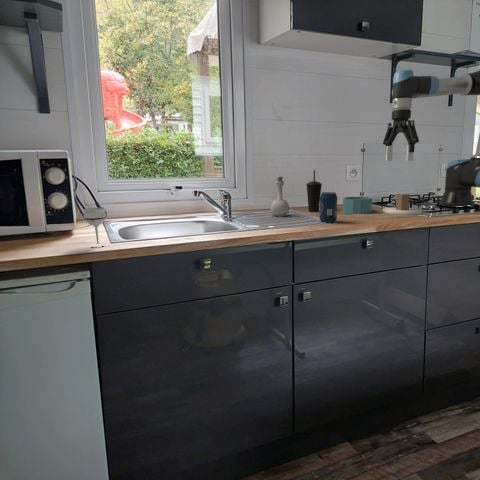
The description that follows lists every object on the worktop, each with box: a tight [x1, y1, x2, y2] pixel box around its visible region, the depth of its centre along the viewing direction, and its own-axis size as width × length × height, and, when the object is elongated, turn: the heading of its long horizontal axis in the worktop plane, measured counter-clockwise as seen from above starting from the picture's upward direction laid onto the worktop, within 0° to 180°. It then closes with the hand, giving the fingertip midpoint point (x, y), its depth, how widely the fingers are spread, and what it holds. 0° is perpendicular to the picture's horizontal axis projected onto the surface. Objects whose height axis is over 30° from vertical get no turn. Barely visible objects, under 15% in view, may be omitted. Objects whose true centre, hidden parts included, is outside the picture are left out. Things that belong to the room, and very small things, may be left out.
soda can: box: [319, 191, 338, 223], centre depth 159 cm, size 7×7×12 cm
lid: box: [381, 193, 424, 216], centre depth 176 cm, size 17×17×8 cm
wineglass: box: [83, 207, 107, 244], centre depth 123 cm, size 7×7×12 cm
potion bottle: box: [270, 176, 290, 217], centre depth 178 cm, size 9×9×18 cm
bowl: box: [342, 196, 373, 216], centre depth 181 cm, size 13×13×7 cm
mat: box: [374, 209, 433, 217], centre depth 177 cm, size 18×18×1 cm
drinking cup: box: [305, 170, 323, 213], centre depth 188 cm, size 8×8×20 cm
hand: (398, 160), depth 168 cm, fingers open, 13 cm apart
